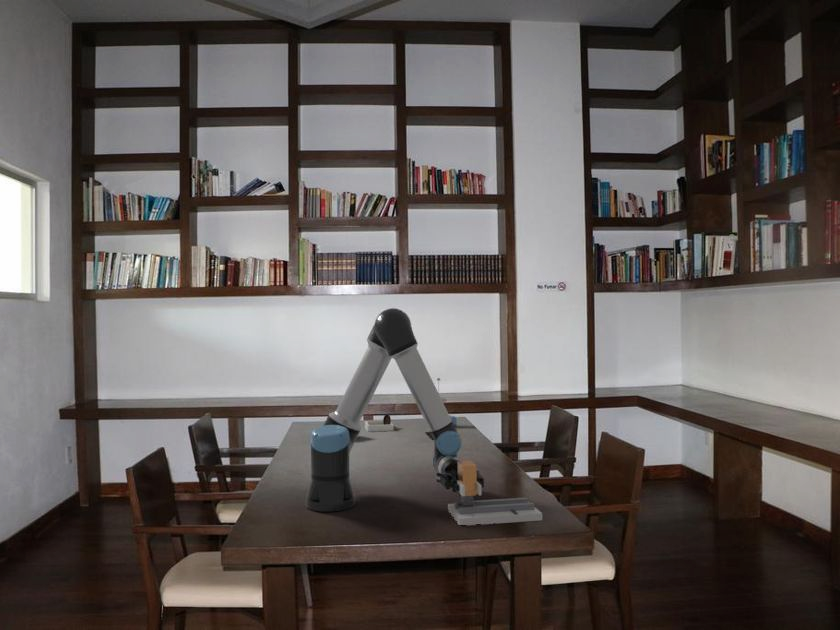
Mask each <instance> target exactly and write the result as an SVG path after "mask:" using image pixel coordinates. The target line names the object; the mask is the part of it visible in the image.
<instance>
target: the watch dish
mask: <svg viewBox="0 0 840 630" xmlns="http://www.w3.org/2000/svg"><path fill="white" fill-rule="evenodd" d="M364 428H365V429H366V432H370V433H371V432H390V431H391V432H393V431H394V430H395V429H394V428H395V427H394V424H393V422H392V421H391V422H390V424H388V425H384V423H383V420H365V421H364Z"/></svg>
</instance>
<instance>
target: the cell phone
mask: <svg viewBox="0 0 840 630" xmlns="http://www.w3.org/2000/svg"><path fill="white" fill-rule="evenodd" d="M425 433H426V434H427V435H428V436H429V437H428V436H427V435H426V434H425ZM425 433H424V434H425V435H426V436H427V437H428V438H429V439H430V440H431V441H434V438H433V436H432V434H431V432H430V431H425Z"/></svg>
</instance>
